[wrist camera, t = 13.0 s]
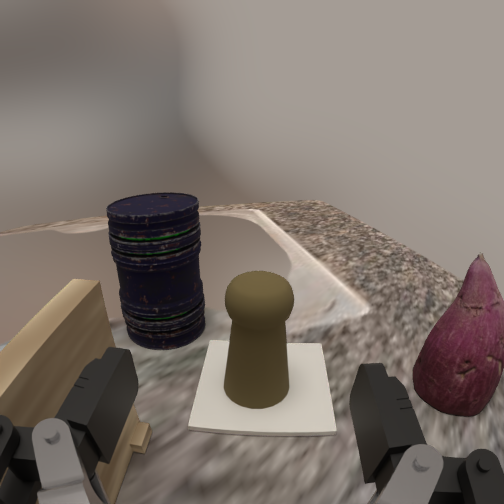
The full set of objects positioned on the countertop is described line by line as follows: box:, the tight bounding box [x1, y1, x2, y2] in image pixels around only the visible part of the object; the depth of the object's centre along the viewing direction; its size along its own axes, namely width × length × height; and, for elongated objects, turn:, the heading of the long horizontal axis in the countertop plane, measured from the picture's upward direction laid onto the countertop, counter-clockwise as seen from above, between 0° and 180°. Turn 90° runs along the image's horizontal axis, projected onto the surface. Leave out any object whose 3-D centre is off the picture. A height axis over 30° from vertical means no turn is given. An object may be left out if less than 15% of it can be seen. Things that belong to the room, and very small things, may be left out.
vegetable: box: [413, 253, 504, 416], centre depth 26 cm, size 10×10×15 cm
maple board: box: [0, 279, 152, 504], centre depth 14 cm, size 4×13×14 cm, turn 177°
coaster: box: [188, 340, 336, 436], centre depth 28 cm, size 12×12×1 cm
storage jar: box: [106, 193, 205, 350], centre depth 35 cm, size 10×10×15 cm
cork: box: [224, 271, 294, 409], centre depth 26 cm, size 6×6×11 cm
